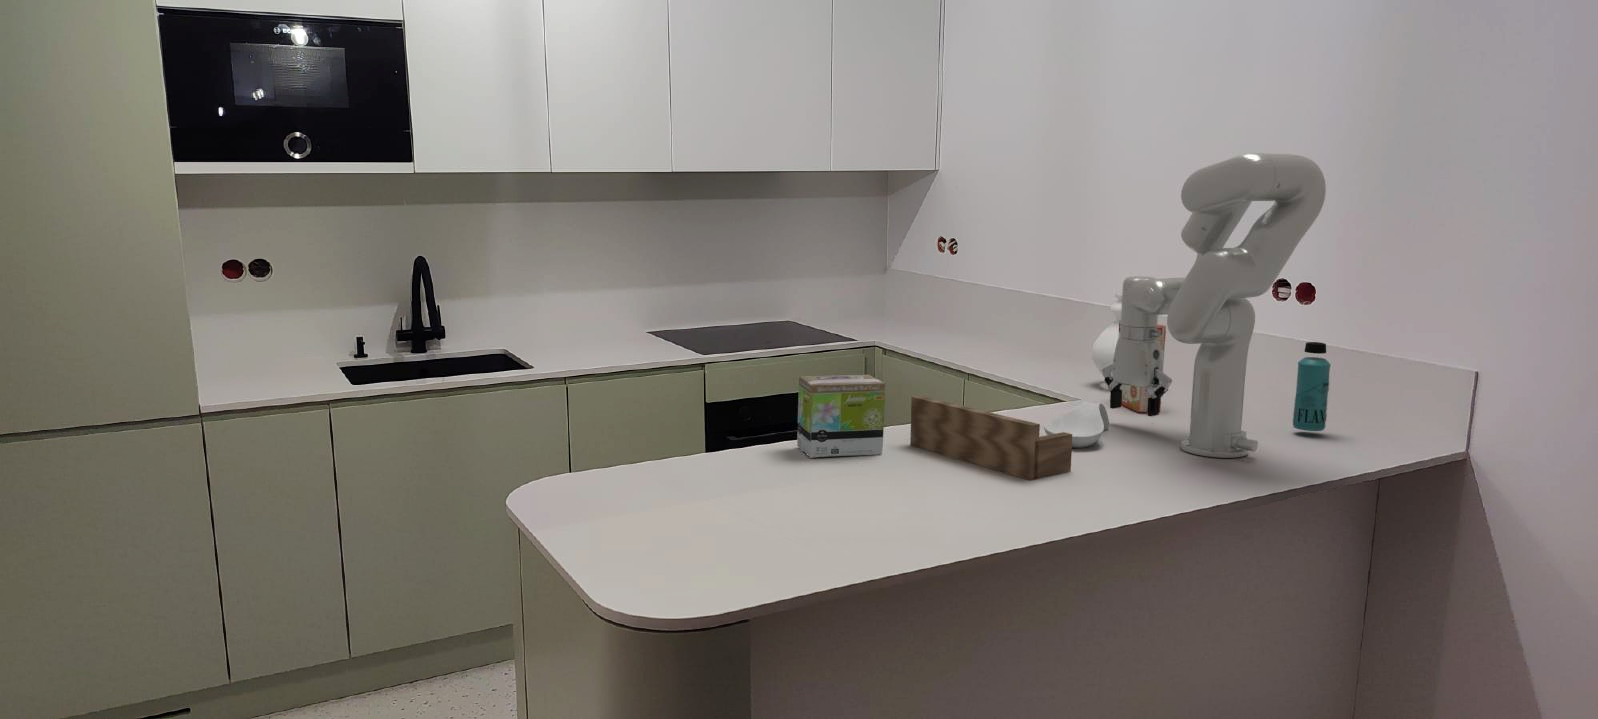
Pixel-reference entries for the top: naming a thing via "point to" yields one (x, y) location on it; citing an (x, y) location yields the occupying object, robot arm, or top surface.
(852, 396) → the tea box
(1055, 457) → the stand
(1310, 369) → the beverage bottle
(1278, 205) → the robot arm
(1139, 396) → the cracker box
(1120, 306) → the decorative vase
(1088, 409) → the spoon rest
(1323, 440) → the top surface
